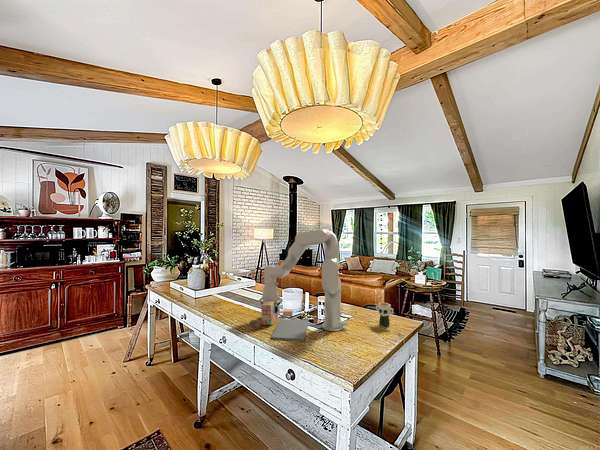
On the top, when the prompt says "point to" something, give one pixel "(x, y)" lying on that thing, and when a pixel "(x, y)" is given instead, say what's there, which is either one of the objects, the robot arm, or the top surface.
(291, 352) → the top surface
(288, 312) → the terracotta brick
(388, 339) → the top surface
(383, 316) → the beige and green figurine
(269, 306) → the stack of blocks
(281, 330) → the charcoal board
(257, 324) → the walnut brick
